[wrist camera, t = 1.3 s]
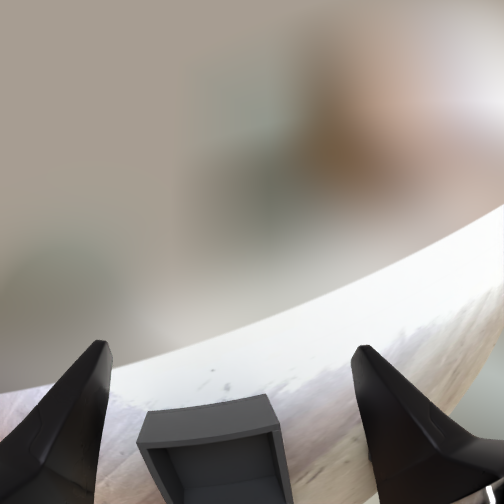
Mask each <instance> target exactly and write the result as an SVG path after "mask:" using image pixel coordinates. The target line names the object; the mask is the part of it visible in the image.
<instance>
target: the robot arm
mask: <svg viewBox="0 0 504 504" xmlns="http://www.w3.org/2000/svg"><path fill="white" fill-rule="evenodd" d="M112 362H113V357H112V353H111V351H110V348H109V345H108V343H107V342H106V341H102V340H95V341H94V342H93V343H92V344H91V345H90V346H89V347H88V348H87V350H86V351H85V352H84V353H83V354H82V355H81V356H80V357H79V358H78V360H76V361H75V363H74V364H73V365H72V366H71V367H70V368H69V369H68V370H67V371H66V372H65V373H64V375H63V376H62V377H61V378H60V379H59V380H58V381H57V382H56V383H55V385H54V386H53V387H52V388H51V389H50V390H49V391H48V392H47V394H46V395H45V396H44V397H43V398H42V399H41V401H40V402H39V403H38V405H36V406H35V407H34V409H33V410H32V411H31V412H30V413H29V414H28V415H27V416H26V418H25V419H24V420H23V421H22V422H21V423H20V424H19V425H18V426H17V427H16V428H15V429H14V430H13V431H12V432H11V433H10V434H9V435H7V436H6V437H5V438H4V439H3V440H2V441H1V442H0V504H94V493H95V482H96V473H97V465H98V458H99V451H100V444H101V438H102V432H103V426H104V421H105V415H106V410H107V405H108V399H109V390H110V380H111V370H112ZM351 368H352V374H353V381H354V387H355V394H356V399H357V403H358V407H359V411H360V415H361V419H362V423H363V427H364V431H365V435H366V439H367V443H368V448H369V452H370V456H371V461H372V465H373V470H374V475H375V479H376V484H377V490H378V495H379V500H380V504H504V440H493V439H483V438H479V437H476V436H474V435H472V434H471V433H469V432H468V431H466V430H465V429H464V428H462V427H461V426H460V425H458V424H457V423H456V422H455V421H453V420H452V419H450V418H449V417H448V416H447V415H446V414H444V413H443V412H442V411H441V410H440V409H439V408H438V407H437V406H435V405H434V404H433V403H432V402H431V401H430V400H429V399H428V398H427V397H426V396H425V395H423V394H422V393H421V392H420V391H419V390H418V389H417V388H416V387H415V386H414V385H413V384H412V383H411V382H409V381H408V380H407V379H406V378H405V377H404V376H403V375H402V374H401V373H400V372H399V371H397V370H396V369H395V368H394V367H393V366H392V365H391V364H390V363H389V362H388V361H387V360H385V359H384V358H383V357H382V356H381V355H380V354H379V353H378V352H377V351H376V350H375V349H373V348H372V347H371V346H370V345H360V346H359V347H358V348H357V350H356V351H355V353H354V355H353V357H352V359H351Z"/></svg>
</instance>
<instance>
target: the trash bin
mask: <svg viewBox="0 0 504 504" xmlns="http://www.w3.org/2000/svg"><path fill="white" fill-rule="evenodd" d="M136 444H137V446H138V448H139V450H140V453H141V455H142V457H143V459H144V461H145V463H146V465H147V467H148V469H149V471H150V473H151V475H152V477H153V479H154V481H155V483H156V485H157V487H158V489H159V491H160V492H161V494H162V496H163V498H164V500H165V501H166V503H167V504H294V502H293V497H292V491H291V485H290V480H289V474H288V468H287V462H286V457H285V451H284V445H283V440H282V434H281V428H280V423H279V421H278V419H277V417H276V414H275V412H274V410H273V408H272V406H271V404H270V401H269V399H268V397H267V395H266V394H262V395H258V396H253V397H248V398H243V399H238V400H232V401H227V402H221V403H215V404H209V405H202V406H195V407H187V408H179V409H170V410H160V411H148V412H147V415H146V417H145V420H144V423H143V425H142V428H141V431H140V434H139V436H138V439H137V442H136Z"/></svg>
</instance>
